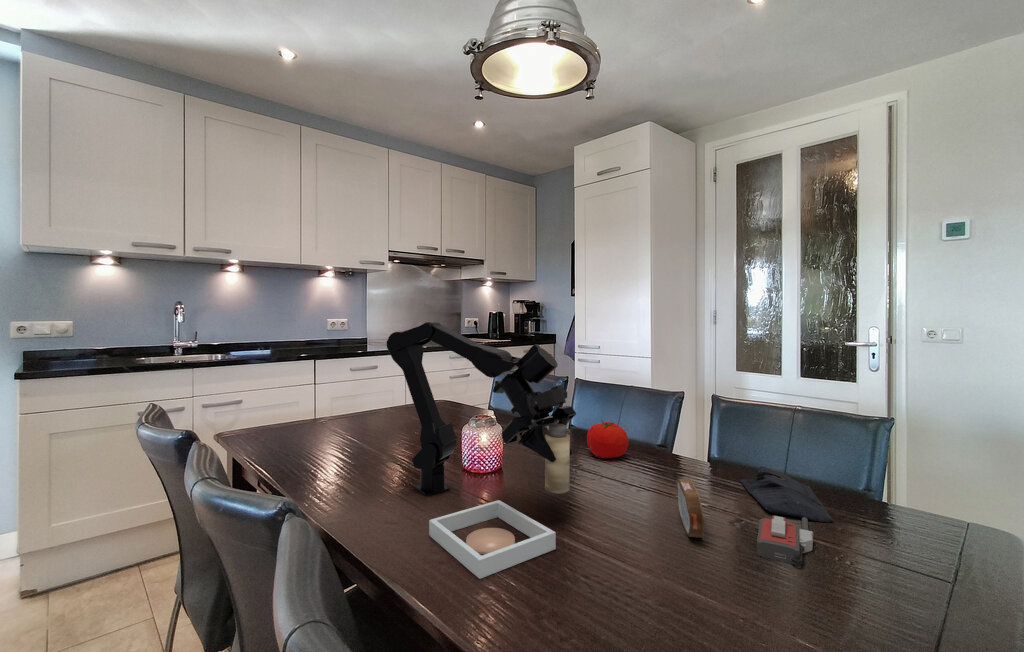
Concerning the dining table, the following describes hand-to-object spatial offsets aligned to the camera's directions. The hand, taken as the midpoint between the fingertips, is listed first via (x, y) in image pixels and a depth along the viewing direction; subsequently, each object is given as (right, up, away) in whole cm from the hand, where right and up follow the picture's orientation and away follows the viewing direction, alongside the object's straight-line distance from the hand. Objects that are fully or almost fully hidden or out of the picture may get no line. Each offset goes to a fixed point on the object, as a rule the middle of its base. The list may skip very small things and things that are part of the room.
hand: (562, 458), depth 94 cm
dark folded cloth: (+51, -13, +11) cm, 54 cm away
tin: (+25, -13, -2) cm, 28 cm away
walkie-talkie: (+40, -14, -8) cm, 43 cm away
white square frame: (-14, -13, -8) cm, 21 cm away
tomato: (+18, -12, +43) cm, 48 cm away
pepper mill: (-1, -7, +1) cm, 7 cm away
